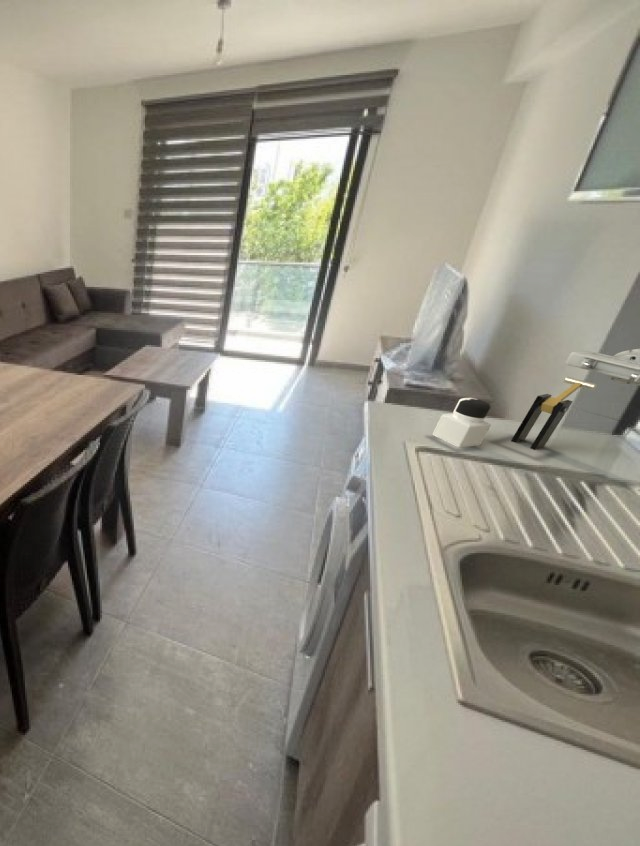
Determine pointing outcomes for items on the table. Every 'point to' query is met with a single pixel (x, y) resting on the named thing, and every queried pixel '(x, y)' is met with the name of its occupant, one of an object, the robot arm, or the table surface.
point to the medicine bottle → (464, 423)
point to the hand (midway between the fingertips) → (608, 371)
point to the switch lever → (566, 393)
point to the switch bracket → (549, 425)
